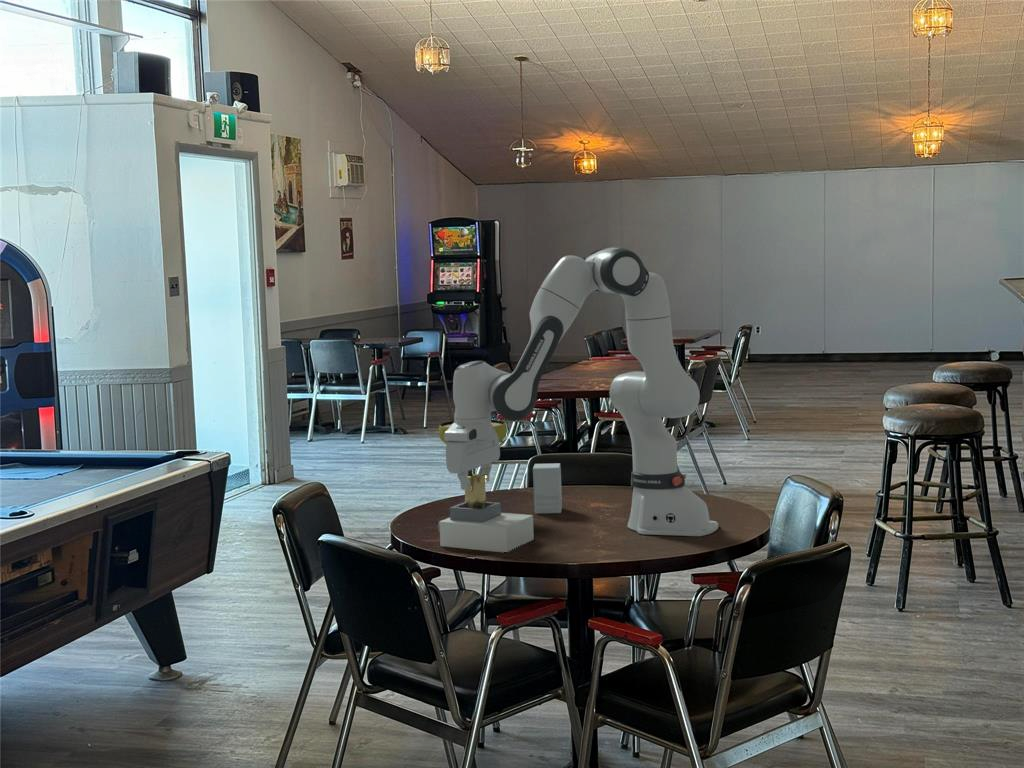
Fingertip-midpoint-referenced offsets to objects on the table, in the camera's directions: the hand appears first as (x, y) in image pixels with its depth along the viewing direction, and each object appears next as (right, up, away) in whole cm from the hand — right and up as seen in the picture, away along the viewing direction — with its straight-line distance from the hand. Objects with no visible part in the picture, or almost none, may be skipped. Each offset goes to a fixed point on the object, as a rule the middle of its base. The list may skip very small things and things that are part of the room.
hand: (475, 485), depth 269 cm
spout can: (0, -8, +1) cm, 8 cm away
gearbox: (+1, -14, +1) cm, 14 cm away
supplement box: (+19, -10, +34) cm, 40 cm away
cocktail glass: (-1, -11, +31) cm, 33 cm away
